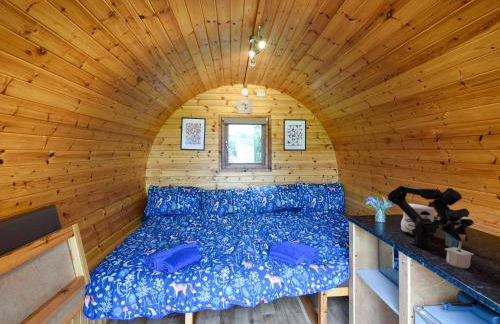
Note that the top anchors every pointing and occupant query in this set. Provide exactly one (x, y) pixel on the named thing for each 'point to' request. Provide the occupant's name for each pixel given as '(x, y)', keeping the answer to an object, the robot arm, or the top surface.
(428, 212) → the milk container
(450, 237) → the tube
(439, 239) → the top surface
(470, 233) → the top surface
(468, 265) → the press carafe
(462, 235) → the plunger
